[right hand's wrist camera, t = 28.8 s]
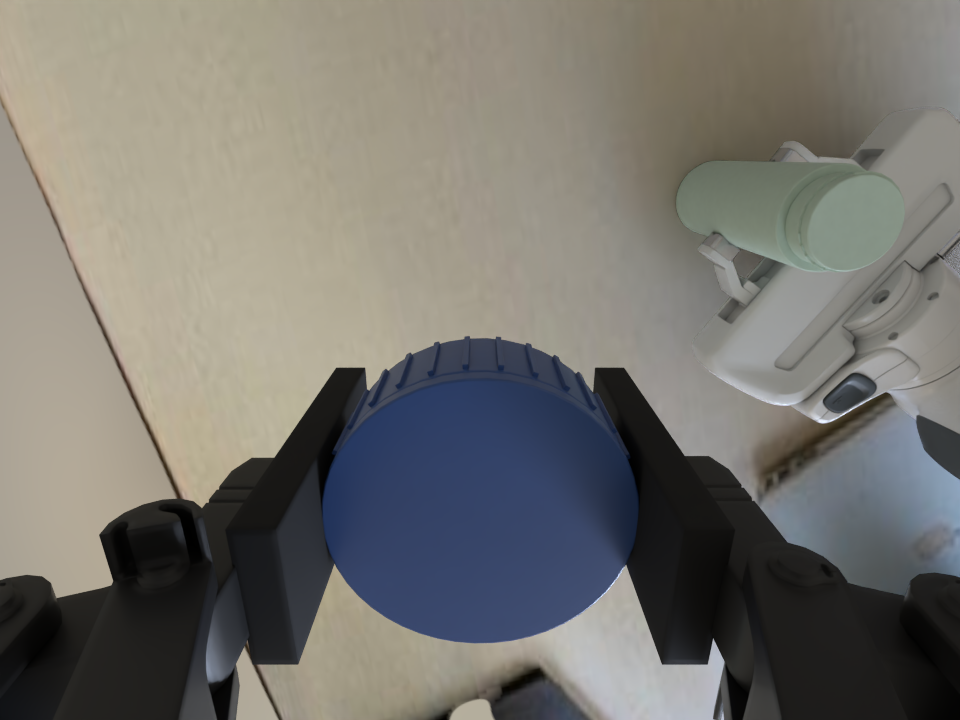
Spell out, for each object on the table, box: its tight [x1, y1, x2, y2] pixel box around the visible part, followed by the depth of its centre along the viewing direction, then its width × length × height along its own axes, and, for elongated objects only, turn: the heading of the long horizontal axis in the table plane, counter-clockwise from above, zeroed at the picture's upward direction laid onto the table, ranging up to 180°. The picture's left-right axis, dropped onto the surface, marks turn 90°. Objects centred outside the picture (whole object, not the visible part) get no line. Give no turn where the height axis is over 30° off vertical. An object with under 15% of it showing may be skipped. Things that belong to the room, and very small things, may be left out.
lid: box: [322, 336, 639, 643], centre depth 11 cm, size 6×6×2 cm
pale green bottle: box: [676, 161, 905, 272], centre depth 33 cm, size 5×5×17 cm
